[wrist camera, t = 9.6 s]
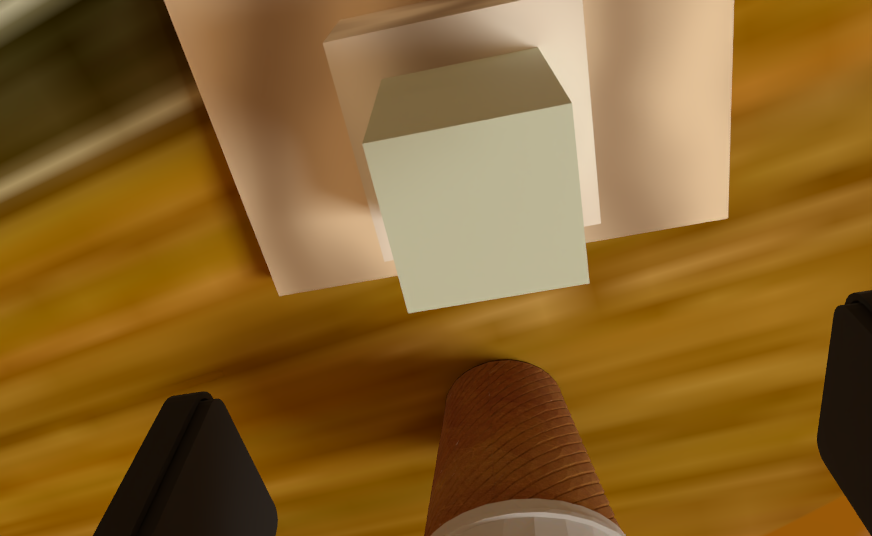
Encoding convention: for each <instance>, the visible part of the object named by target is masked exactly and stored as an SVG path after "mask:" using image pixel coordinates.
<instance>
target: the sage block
mask: <svg viewBox="0 0 872 536" xmlns="http://www.w3.org/2000/svg"><path fill="white" fill-rule="evenodd" d="M362 145H363V148H364V152H365V156H366V160H367V163H368V167H369V171H370V174H371V178H372V182H373V185H374V189H375V193H376V196H377V200H378V204H379V207H380V211H381V215H382V218H383V222H384V226H385V229H386V233H387V237H388V240H389V244H390V248H391V252H392V255H393V259H394V263H395V266H396V270H397V274H398V277H399V281H400V285H401V288H402V292H403V296H404V299H405V303H406V307H407V310H408V313H413V312H419V311H425V310H431V309H437V308H443V307H449V306H455V305H461V304H467V303H473V302H479V301H485V300H491V299H498V298H504V297H510V296H516V295H522V294H528V293H534V292H540V291H546V290H552V289H558V288H564V287H570V286H576V285H582V284H588V283H589V274H588V264H587V253H586V243H585V233H584V222H583V212H582V202H581V191H580V181H579V170H578V160H577V150H576V139H575V129H574V119H573V108H572V102H571V101H570V99H569V97H568V96H567V94H566V92H565V91H564V89H563V87H562V86H561V84H560V83H559V81H558V79H557V78H556V76H555V74H554V73H553V71H552V69H551V68H550V66H549V65H548V63H547V61H546V60H545V58H544V56H543V55H542V53H541V51H540V50H539V48H538V47H536V48H531V49H526V50H521V51H517V52H512V53H507V54H502V55H497V56H492V57H487V58H482V59H478V60H473V61H468V62H463V63H458V64H453V65H448V66H443V67H439V68H434V69H429V70H424V71H419V72H414V73H409V74H404V75H400V76H395V77H390V78H385V79H381V83H380V86H379V89H378V93H377V96H376V100H375V103H374V106H373V110H372V113H371V116H370V120H369V123H368V126H367V130H366V133H365V136H364V140H363V143H362Z"/></svg>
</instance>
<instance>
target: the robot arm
mask: <svg viewBox="0 0 872 536" xmlns="http://www.w3.org/2000/svg"><path fill="white" fill-rule="evenodd" d="M817 444H818V449H819V452H820V455H821V457H822V460H823V461H824V463H825V465H826V466H827V468H828V470H829V471H830V473H831V474H832V476H833V477H834V479H835V480H836V482H837V483H838V485H839V487H840V488H841V490H842V491H843V493H844V494H845V496H846V497H847V499H848V501H849V502H850V504H851V505H852V507H853V508H854V510H855V511H856V513H857V515H858V516H859V518H860V519H861V521H862V522H863V524H864V525H865V527H866V528H867V530H868V531H869V533H870V535H871V536H872V290H870V291H863V292H857V293H853V294H850V295H849V296H848V298H847V299H846V302H845V305H840V306H837V308H836V309H835V312H834V317H833V324H832V331H831V339H830V346H829V353H828V361H827V368H826V375H825V382H824V390H823V397H822V404H821V412H820V419H819V426H818V433H817ZM277 522H278V519H277V511H276V507H275V505H274V503H273V501H272V499H271V497H270V495H269V493H268V491H267V489H266V487H265V485H264V483H263V481H262V479H261V477H260V475H259V473H258V471H257V469H256V467H255V465H254V463H253V461H252V459H251V457H250V455H249V453H248V451H247V449H246V447H245V445H244V443H243V441H242V439H241V437H240V435H239V433H238V431H237V429H236V427H235V425H234V423H233V421H232V419H231V417H230V415H229V413H228V411H227V409H226V407H225V405H224V403H223V402H222V401H221V400H220V399H213V397H212V396H211V394H209V393H208V392H196V393H190V394H183V395H177V396H171V397H170V398H168V399H167V400H166V401H165V403H164V404H163V406H162V408H161V410H160V412H159V414H158V415H157V417H156V419H155V421H154V423H153V425H152V427H151V428H150V430H149V432H148V434H147V436H146V438H145V440H144V441H143V443H142V445H141V447H140V449H139V451H138V453H137V454H136V456H135V458H134V460H133V462H132V464H131V466H130V468H129V469H128V471H127V473H126V475H125V477H124V479H123V481H122V482H121V484H120V486H119V488H118V490H117V492H116V494H115V495H114V497H113V499H112V501H111V503H110V505H109V507H108V508H107V510H106V512H105V514H104V516H103V518H102V520H101V521H100V523H99V525H98V527H97V529H96V531H95V533H94V535H93V536H275V535H276V530H277Z"/></svg>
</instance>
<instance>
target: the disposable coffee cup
mask: <svg viewBox="0 0 872 536" xmlns="http://www.w3.org/2000/svg"><path fill="white" fill-rule="evenodd" d="M586 452H587V451H586V449H585V447H584V445H583V444H582V439H581V438H580V436H579V434H578V431H577V429H576V427H575V424H574V422H573V420H572V418H571V414H570V413H569V411H568V409H567V405H566V403H565V401H564V399H563V396H562V394H561V391H560V389H559V387H558V385H557V383H556V382H555V380H554V379H553V378H552V377H551V376H550V375H549V374H548V373H546V372H545V371H543V370H542V369H540V368H538V367H536V366H533V365H531V364H528V363H524V362H520V361H512V360H503V361H493V362H488V363H485V364H482V365H480V366H477V367H474V368H472V369H471V370H469V371H467V372H466V373H464V374H463V375H462V376H461V377H460V378H458V379H457V380H456V382H455V383H454V384H453V386H452V387H451V389H450V390H449V393H448V395H447V399H446V405H445V412H444V419H443V424H442V431H441V437H440V443H439V449H438V454H437V461H436V467H435V474H434V479H433V485H432V491H431V497H430V503H429V508H428V515H427V522H426V528H425V534H424V536H626V535H625V534H624V533H623V531H622V530H621V529H620V527H619V525H618V523H617V521H616V519H615V518H614V513H613V511H612V509H611V507H610V506H609V502H608V500H607V498H606V496H605V495H603V494H604V490H603V488H602V486H601V485H600V484H599V479H598V477H597V475H596V473H594V472H595V469H594V467H593V466H592V464H591V463H590V462H591V460H590V458H589V456H588V454H587V453H586Z"/></svg>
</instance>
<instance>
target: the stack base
mask: <svg viewBox="0 0 872 536" xmlns="http://www.w3.org/2000/svg"><path fill="white" fill-rule="evenodd" d="M164 2H165V5H166V7H167V10H168V12H169V15H170V17H171V20H172V23H173V25H174V28H175V30H176V33H177V35H178V38H179V40H180V43H181V46H182V48H183V51H184V53H185V56H186V58H187V61H188V64H189V66H190V69H191V71H192V74H193V76H194V79H195V81H196V84H197V87H198V89H199V92H200V94H201V97H202V99H203V102H204V104H205V107H206V110H207V112H208V115H209V117H210V120H211V122H212V125H213V128H214V130H215V133H216V135H217V138H218V140H219V143H220V145H221V148H222V151H223V153H224V156H225V158H226V161H227V163H228V166H229V169H230V171H231V174H232V176H233V179H234V181H235V184H236V186H237V189H238V192H239V194H240V197H241V199H242V202H243V204H244V207H245V210H246V212H247V215H248V217H249V220H250V222H251V225H252V227H253V230H254V233H255V235H256V238H257V240H258V243H259V245H260V248H261V251H262V253H263V256H264V258H265V261H266V263H267V266H268V268H269V271H270V274H271V276H272V279H273V281H274V284H275V286H276V289H277V291H278V294H279V296H282V295H288V294H294V293H300V292H306V291H311V290H317V289H323V288H329V287H334V286H340V285H346V284H352V283H357V282H363V281H369V280H375V279H380V278H386V277H392V276H398V274H397V270H396V266H395V263H394V259H393V255H392V252H391V248H390V244H389V240H388V237H387V233H386V229H385V226H384V222H383V218H382V215H381V211H380V207H379V204H378V200H377V196H376V193H375V189H374V185H373V182H372V178H371V174H370V171H369V167H368V163H367V160H366V156H365V152H364V148H363V145H362V143H363V140H364V136H365V133H366V130H367V126H368V123H369V120H370V116H371V113H372V110H373V106H374V103H375V100H376V96H377V93H378V89H379V86H380V83H381V79H385V78H390V77H395V76H400V75H404V74H409V73H414V72H419V71H424V70H429V69H434V68H439V67H443V66H448V65H453V64H458V63H463V62H468V61H473V60H478V59H482V58H487V57H492V56H497V55H502V54H507V53H512V52H517V51H521V50H526V49H531V48H536V47H538V48H539V50H540V51H541V53H542V55H543V56H544V58H545V60H546V61H547V63H548V65H549V66H550V68H551V69H552V71H553V73H554V74H555V76H556V78H557V79H558V81H559V83H560V84H561V86H562V87H563V89H564V91H565V92H566V94H567V96H568V97H569V99H570V101H571V102H572V108H573V119H574V129H575V139H576V150H577V160H578V170H579V181H580V191H581V202H582V212H583V222H584V233H585V243H588V242H594V241H600V240H605V239H611V238H617V237H623V236H628V235H634V234H640V233H646V232H651V231H657V230H663V229H669V228H675V227H680V226H686V225H692V224H698V223H703V222H709V221H715V220H721V219H726V218H728V199H729V164H730V128H731V93H732V57H733V22H734V0H164Z"/></svg>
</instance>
